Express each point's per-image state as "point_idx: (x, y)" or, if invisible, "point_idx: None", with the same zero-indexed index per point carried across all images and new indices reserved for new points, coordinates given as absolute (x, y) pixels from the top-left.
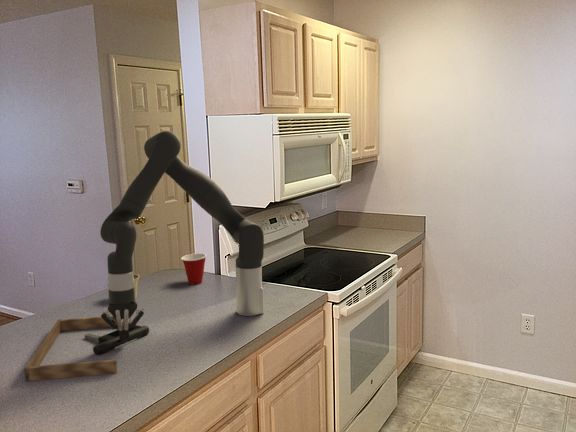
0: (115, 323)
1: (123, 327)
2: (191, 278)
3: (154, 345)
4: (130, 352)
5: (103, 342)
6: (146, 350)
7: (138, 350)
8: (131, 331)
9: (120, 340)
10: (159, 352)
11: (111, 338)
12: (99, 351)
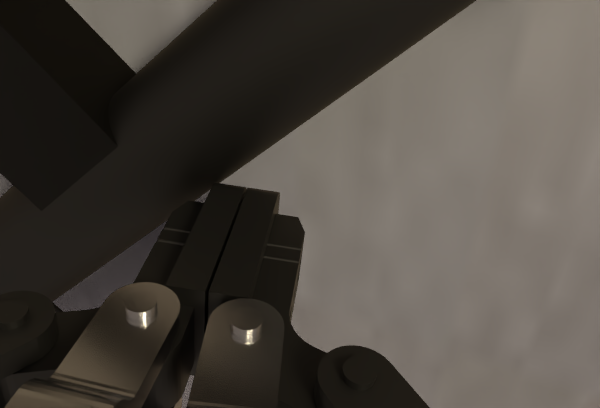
0: (14, 389)
1: (188, 321)
2: None
3: (589, 261)
4: (318, 321)
5: (2, 274)
6: (474, 334)
7: (397, 310)
8: (341, 25)
9: (192, 200)
10: (579, 404)
11: (62, 173)
12: None
